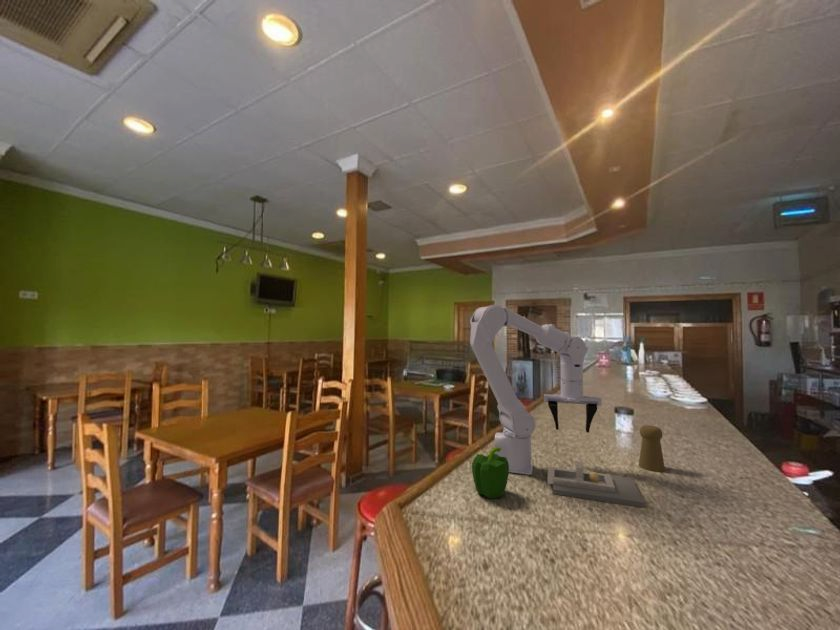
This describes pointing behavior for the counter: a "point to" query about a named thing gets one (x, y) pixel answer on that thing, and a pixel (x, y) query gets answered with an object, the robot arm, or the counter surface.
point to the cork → (651, 449)
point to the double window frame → (580, 479)
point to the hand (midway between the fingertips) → (572, 430)
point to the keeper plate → (623, 492)
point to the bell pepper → (490, 474)
